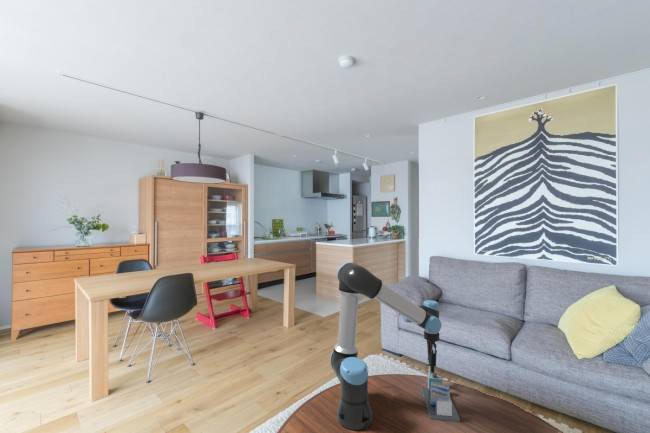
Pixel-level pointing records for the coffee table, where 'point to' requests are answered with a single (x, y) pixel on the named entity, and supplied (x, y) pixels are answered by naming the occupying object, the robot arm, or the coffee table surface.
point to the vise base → (433, 408)
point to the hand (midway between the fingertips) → (432, 377)
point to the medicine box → (439, 391)
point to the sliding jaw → (433, 379)
